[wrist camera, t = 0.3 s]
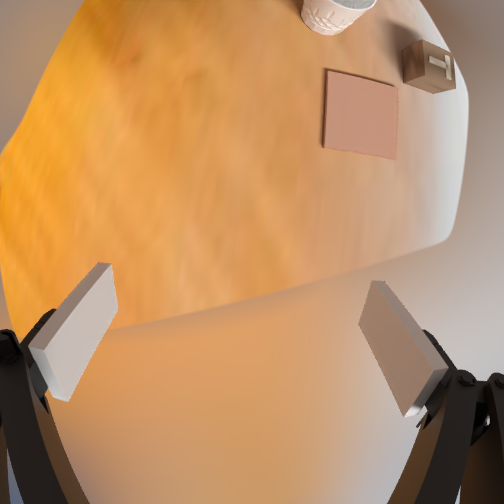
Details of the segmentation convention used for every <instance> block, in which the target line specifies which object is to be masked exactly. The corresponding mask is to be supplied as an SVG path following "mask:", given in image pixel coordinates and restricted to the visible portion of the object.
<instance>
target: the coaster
mask: <svg viewBox="0 0 504 504" xmlns="http://www.w3.org/2000/svg"><path fill="white" fill-rule="evenodd" d="M397 131H398V88H396V87H392V86H389V85H385V84H382V83H378V82H375V81H371V80H367V79H363V78H359V77H355V76H351V75H346V74H342V73H337V72H332V71H327V72H326V99H325V120H324V137H323V148H327V149H335V150H341V151H348V152H354V153H360V154H366V155H371V156H377V157H382V158H387V159H392V160H396V150H397Z"/></svg>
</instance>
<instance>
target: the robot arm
mask: <svg viewBox="0 0 504 504" xmlns="http://www.w3.org/2000/svg"><path fill="white" fill-rule="evenodd" d="M118 310H119V309H118V304H117V298H116V292H115V285H114V278H113V271H112V264H110V263H98V264H97V265H96V266H95V267H94V268H93V269H92V270H91V271H90V272H89V273H88V274H87V275H86V277H85V278H84V279H83V280H82V281H81V282H80V283H79V284H78V285H77V287H76V288H75V289H74V290H73V291H72V292H71V293H70V295H69V296H68V297H67V298H66V299H65V300H64V302H63V303H62V304H61V305H60V306H59V307H58V309H54V308H53V309H51V310H50V311H48V312H47V313H45V314H44V315H43V316H42V317H41V318H40V320H39V321H38V323H36V324H35V326H34V328H32V329H31V331H30V332H29V333H28V334H27V335H26V337H25V338H24V339H23V341H22V342H21V343H20V344H19V342H18V339H17V337H16V335H15V332H13V331H12V330H8V329H4V330H0V504H11V503H10V495H9V484H8V469H7V449H8V453H9V457H10V461H11V465H12V468H13V472H14V475H15V479H16V482H17V485H18V488H19V491H20V494H21V497H22V500H23V503H24V504H90V503H89V502H88V500H87V498H86V496H85V494H84V492H83V490H82V489H81V486H80V484H79V482H78V480H77V478H76V476H75V473H74V471H73V469H72V467H71V464H70V463H69V460H68V458H67V455H66V453H65V450H64V448H63V445H62V443H61V440H60V437H59V434H58V431H57V429H56V426H55V423H54V420H53V417H52V414H51V411H50V407H49V404H48V400H47V398H46V396H45V392H46V391H47V389H49V390H50V392H51V394H52V396H53V397H54V398H57V399H60V400H64V401H67V402H68V401H69V400H70V397H71V396H72V394H73V392H74V390H75V388H76V386H77V383H78V381H79V380H80V378H81V376H82V374H83V372H84V370H85V368H86V366H87V364H88V363H89V361H90V359H91V357H92V355H93V353H94V352H95V350H96V348H97V346H98V344H99V342H100V341H101V339H102V337H103V335H104V334H105V332H106V330H107V328H108V327H109V325H110V323H111V322H112V320H113V318H114V316H115V315H116V313H117V311H118ZM359 326H360V328H361V330H362V332H363V334H364V336H365V338H366V340H367V342H368V344H369V346H370V348H371V350H372V352H373V354H374V356H375V358H376V360H377V362H378V364H379V366H380V368H381V370H382V372H383V374H384V376H385V378H386V380H387V383H388V385H389V387H390V389H391V391H392V393H393V395H394V398H395V400H396V402H397V404H398V406H399V409H400V411H401V413H402V415H403V417H408V416H412V415H417V414H418V413H419V412H420V411H421V409H422V408H423V406H424V405H425V406H426V408H427V410H428V411H427V412H426V414H425V415H424V417H423V418H422V419H421V421H420V422H419V423H418V424H417V426H416V427H417V428H418V427H419V426H420V425H421V427H420V429H419V433H418V435H417V438H416V441H415V443H414V446H413V448H412V451H411V454H410V456H409V458H408V461H407V463H406V465H405V468H404V470H403V472H402V474H401V477H400V479H399V481H398V483H397V485H396V487H395V489H394V491H393V493H392V495H391V497H390V499H389V501H388V503H387V504H455V502H456V498H457V495H458V492H459V489H460V485H461V489H460V503H459V504H504V375H503V374H501V373H493V374H491V376H490V377H489V379H488V380H487V381H477V380H476V378H475V377H474V376H473V375H472V374H471V373H469V372H468V371H466V370H457V368H456V367H455V366H454V364H453V363H452V361H451V360H450V358H449V357H448V356H447V354H446V353H445V351H443V349H442V347H441V346H440V345H439V343H438V342H437V340H436V339H435V338H434V336H433V335H432V334H430V333H429V332H427V331H426V330H422V329H421V328H420V326H419V325H418V324H417V322H416V321H415V320H414V319H413V317H412V316H411V314H410V313H409V312H408V310H407V309H406V308H405V307H404V305H403V304H402V303H401V302H400V300H399V299H398V298H397V296H396V295H395V294H394V293H393V291H392V290H391V289H390V288H389V286H388V285H387V284H386V283H385V281H372V282H371V285H370V289H369V292H368V295H367V299H366V302H365V305H364V308H363V311H362V315H361V318H360V321H359ZM489 418H490V424H489V425H487V419H489Z"/></svg>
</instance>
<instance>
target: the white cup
mask: <svg viewBox="0 0 504 504" xmlns="http://www.w3.org/2000/svg"><path fill="white" fill-rule="evenodd" d="M375 3H376V0H304V2H303V6H302V10H301V17H302V19H303V21H304V23H305V24H306V25H307V26H308V27H309V28H310V29H311V30H313V31H315V32H317V33H319V34H322V35H335V34H338V33H341V32H342V31H343V30H344V29H345V28H346V27H348V26H349V25H351V24H352V23H353V22H354V21H356V20H357V19H358V18H359V17H361V16H362V15H363V14H364V13H365V12H366V11H368V10H369V9H370V8H371V7H373V6H374V4H375Z"/></svg>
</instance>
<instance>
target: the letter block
mask: <svg viewBox="0 0 504 504" xmlns="http://www.w3.org/2000/svg"><path fill="white" fill-rule="evenodd" d="M402 58H403V83H405V84H408V85H410V86H413V87H416V88H419V89H422V90H424V91H427V92H430V93H432V94H435V93H439V92H443V91H447V90H452V89H456V82H455V69H454V59H453V54H452V53H450V52H448V51H446V50H444V49H442V48H440V47H438V46H436V45H434V44H432V43H429V42H427V41H425V40H423V39H422V40H420V41H418V42H416V43H414V44H412V45H411V46H409V47H407V48H405V49H403V50H402Z"/></svg>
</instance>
